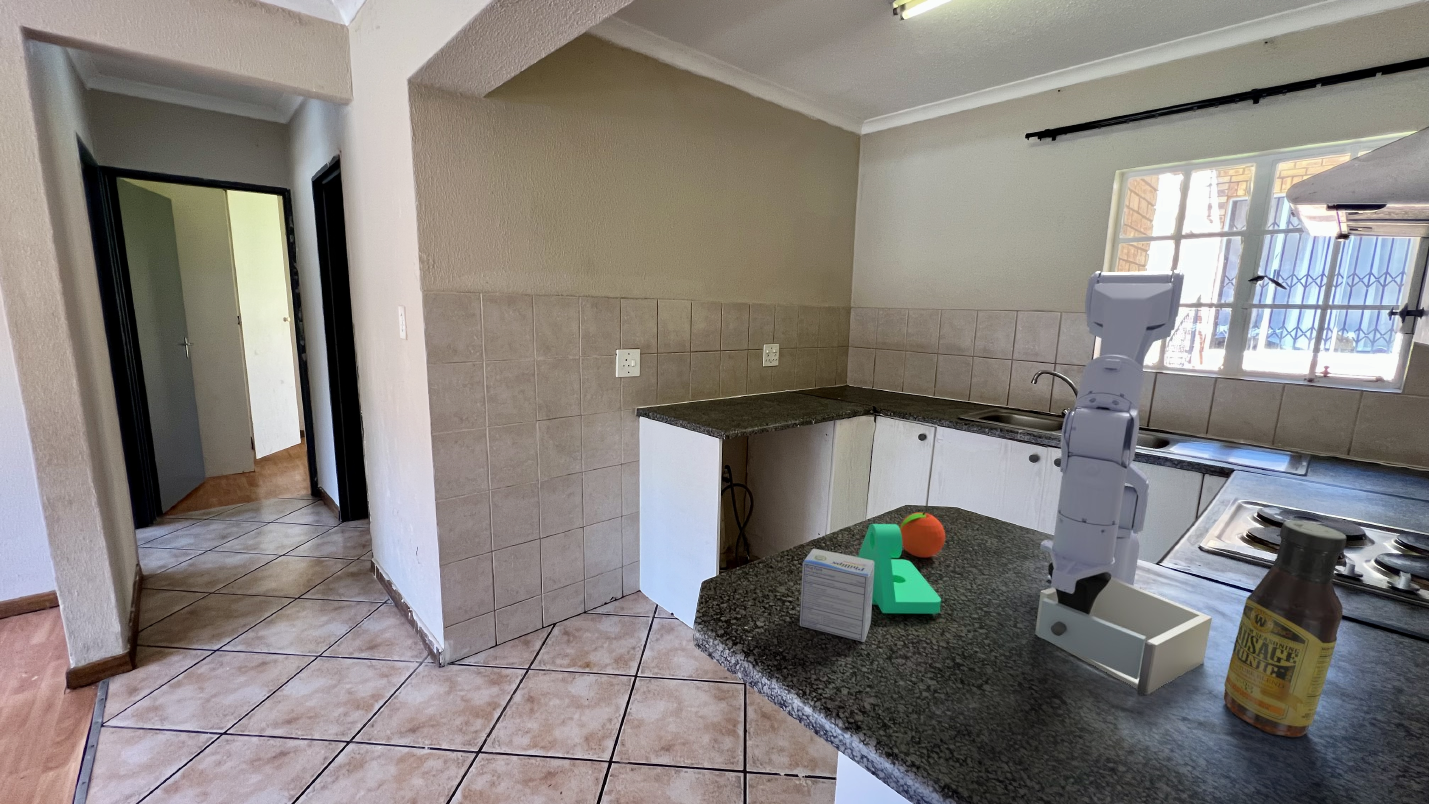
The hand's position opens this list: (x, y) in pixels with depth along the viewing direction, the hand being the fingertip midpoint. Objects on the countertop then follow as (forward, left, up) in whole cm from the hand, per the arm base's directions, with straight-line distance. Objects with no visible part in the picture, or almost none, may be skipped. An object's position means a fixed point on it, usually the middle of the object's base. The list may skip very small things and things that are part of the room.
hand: (1071, 627), depth 64 cm
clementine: (-4, -26, -3) cm, 26 cm away
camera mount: (+9, -18, -3) cm, 20 cm away
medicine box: (+21, -16, -3) cm, 27 cm away
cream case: (-6, +2, -3) cm, 7 cm away
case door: (+1, +2, -2) cm, 3 cm away
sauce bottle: (-6, +15, -3) cm, 17 cm away
